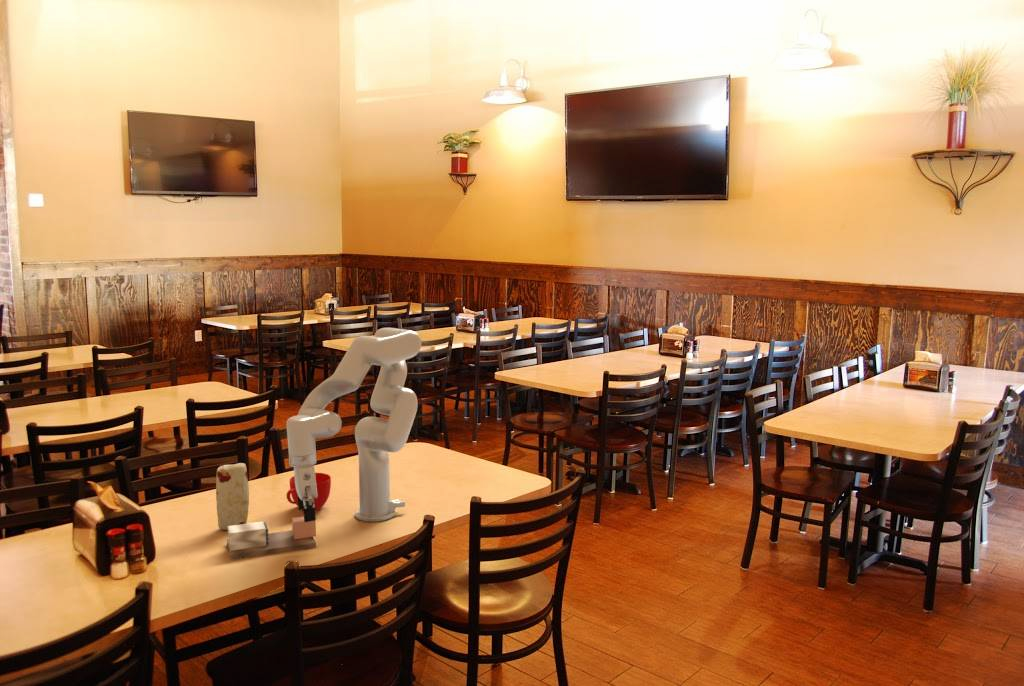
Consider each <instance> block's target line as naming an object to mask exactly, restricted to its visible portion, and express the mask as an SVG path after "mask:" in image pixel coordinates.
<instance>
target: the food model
mask: <svg viewBox="0 0 1024 686" xmlns="http://www.w3.org/2000/svg"><path fill="white" fill-rule="evenodd" d="M215 479H216V480H215V481H216V483H215V488H216V490H215V501H216V514H217V525H218V529H219V530H224V531H226V530H227V531H228V526H232V525H240V524H247V522H248V517H249V505H250V504H249V503H250V488H249V478H248V471H247V465H246V463H243V462H238V463H235V464H223V465H220V466H219V467H218V468H216V477H215Z"/></svg>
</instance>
